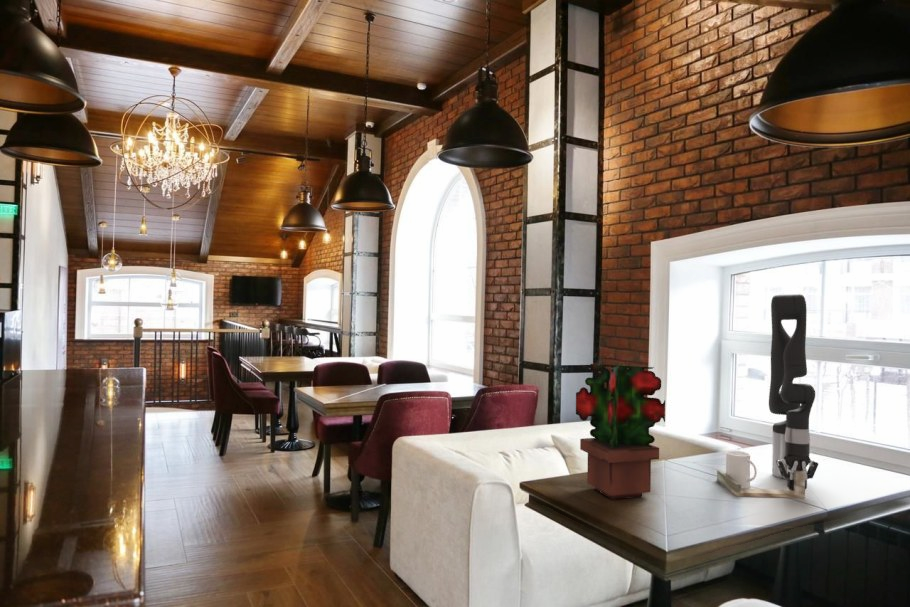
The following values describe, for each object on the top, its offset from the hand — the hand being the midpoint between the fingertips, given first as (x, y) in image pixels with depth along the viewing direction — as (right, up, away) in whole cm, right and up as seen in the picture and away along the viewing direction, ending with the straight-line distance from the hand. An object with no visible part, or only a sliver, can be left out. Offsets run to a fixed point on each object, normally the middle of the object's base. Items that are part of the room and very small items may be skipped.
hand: (796, 489), depth 216 cm
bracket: (-10, -2, +8) cm, 12 cm away
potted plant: (-62, -2, +2) cm, 62 cm away
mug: (-14, -2, +11) cm, 18 cm away
